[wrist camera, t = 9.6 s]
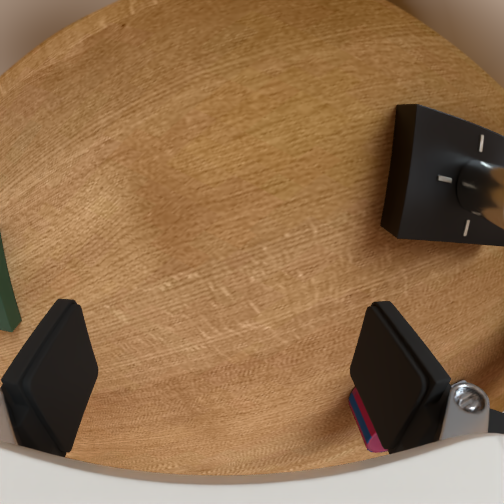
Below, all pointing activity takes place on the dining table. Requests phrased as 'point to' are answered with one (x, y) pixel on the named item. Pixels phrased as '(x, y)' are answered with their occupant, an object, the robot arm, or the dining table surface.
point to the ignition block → (7, 298)
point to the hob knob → (482, 190)
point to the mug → (364, 423)
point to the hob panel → (436, 177)
